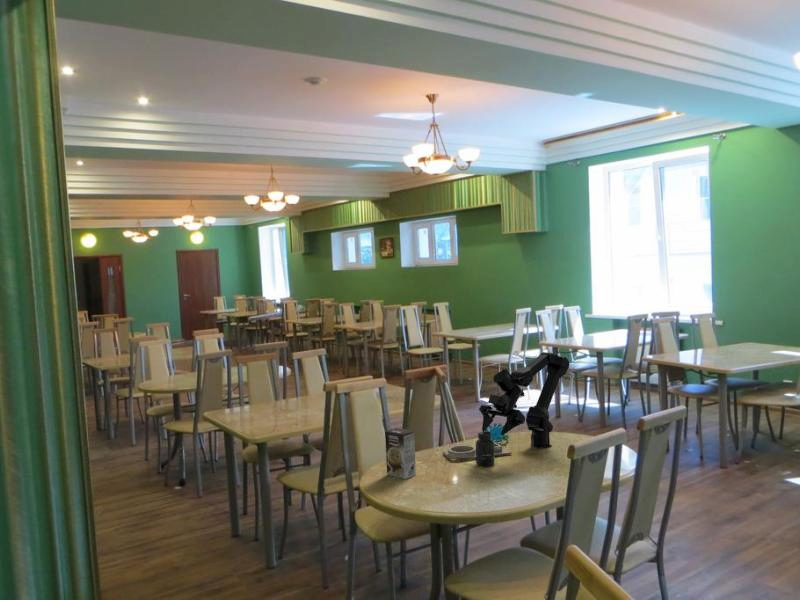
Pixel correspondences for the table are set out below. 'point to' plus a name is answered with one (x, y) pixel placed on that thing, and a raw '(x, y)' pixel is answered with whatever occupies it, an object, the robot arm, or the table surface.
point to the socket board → (505, 452)
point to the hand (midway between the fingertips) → (492, 432)
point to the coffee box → (400, 453)
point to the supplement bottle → (485, 450)
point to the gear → (497, 433)
